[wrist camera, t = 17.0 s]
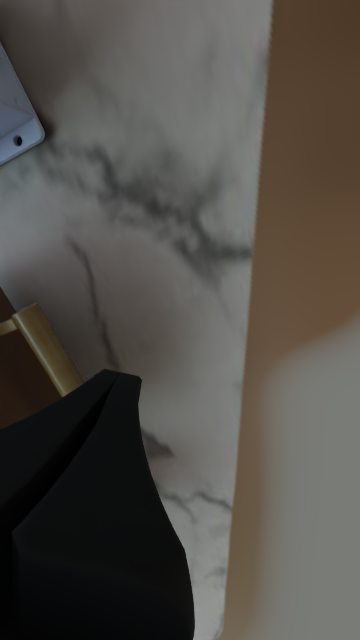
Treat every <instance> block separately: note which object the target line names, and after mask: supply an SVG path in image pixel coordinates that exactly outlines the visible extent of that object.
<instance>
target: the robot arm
mask: <svg viewBox="0 0 360 640" xmlns="http://www.w3.org/2000/svg"><path fill="white" fill-rule="evenodd" d="M18 137H21V138H22V145H21V146H19V145H18V143H17V139H18ZM44 137H45V132H44V129H43V127H42V125H41V123H40V121H39V119H38V117H37V115H36V113H35V111H34V109H33V107H32V105H31V103H30V101H29V99H28V97H27V95H26V93H25V91H24V89H23V87H22V85H21V83H20V81H19V79H18V77H17V75H16V73H15V70H14V68H13V66H12V64H11V62H10V60H9V58H8V56H7V54H6V52H5V50H4V48H3V46H2V44H1V42H0V165H2V164H4V163H6V162H7V161H9V160H11V159H13V158H14V157H16V156H18V155H20V154H22V153H23V152H25V151H27V150H29V149H30V148H32V147H34V146H36V145H38V144H39V143H41V142H42V141H43V140H44ZM141 383H142V379H141V378H140V377H139V376H135V375H130V374H126V373H121V372H116V371H112V370H107V369H104V370H102V371H101V372H99V373H98V374H96V375H95V376H93V377H92V378H91V379H89V380H88V381H86V382H85V383H83V384H82V385H80V386H79V387H77V388H76V389H74V390H73V391H71V392H70V393H68V394H67V395H65V396H64V397H62V398H60V399H59V400H57V401H55V402H54V403H52V404H50V405H49V406H47V407H45V408H43V409H42V410H40V411H38V412H36V413H34V414H32V415H30V416H28V417H26V418H24V419H22V420H20V421H18V422H16V423H14V424H11V425H9V426H7V427H5V428H2V429H0V640H193V637H194V629H195V618H194V602H193V593H192V586H191V580H190V574H189V569H188V564H187V559H186V553H185V549H184V547H183V545H182V544H181V542H180V540H179V538H178V536H177V534H176V532H175V530H174V528H173V526H172V524H171V522H170V520H169V518H168V515H167V513H166V511H165V509H164V506H163V504H162V502H161V499H160V497H159V494H158V491H157V489H156V486H155V483H154V480H153V478H152V475H151V472H150V468H149V465H148V462H147V458H146V454H145V450H144V446H143V441H142V435H141V429H140V421H139V409H138V402H139V395H140V389H141Z"/></svg>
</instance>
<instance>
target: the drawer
mask: <svg viewBox="0 0 360 640" xmlns="http://www.w3.org/2000/svg"><path fill="white" fill-rule="evenodd" d="M83 383H84V381H83V379H82V377H81V376H80V374H79V372H78V371H77V369H76V367H75V366H74V364H73V362H72V361H71V359H70V357H69V355H68V354H67V352H66V350H65V349H64V347H63V345H62V344H61V342H60V340H59V339H58V337H57V335H56V334H55V332H54V330H53V328H52V327H51V325H50V323H49V322H48V320H47V318H46V317H45V315H44V313H43V312H42V310H41V308H40V306H39V305H38V303H34V304H32V305H29V306H27V307H25V308H23V309H21V310H19V311H17V312H16V311H15V310H14V308H13V306H12V305H11V303H10V302H9V300H8V298H7V297H6V295H5V294H4V292H3V290H2V289H1V287H0V429H2V428H5V427H7V426H9V425H11V424H14V423H16V422H18V421H20V420H22V419H24V418H26V417H28V416H30V415H32V414H34V413H36V412H38V411H40V410H42V409H43V408H45V407H47V406H49V405H50V404H52V403H54V402H55V401H57V400H59V399H60V398H62V397H64V396H65V395H67V394H68V393H70V392H71V391H73V390H74V389H76V388H77V387H79V386H80V385H82V384H83Z"/></svg>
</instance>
